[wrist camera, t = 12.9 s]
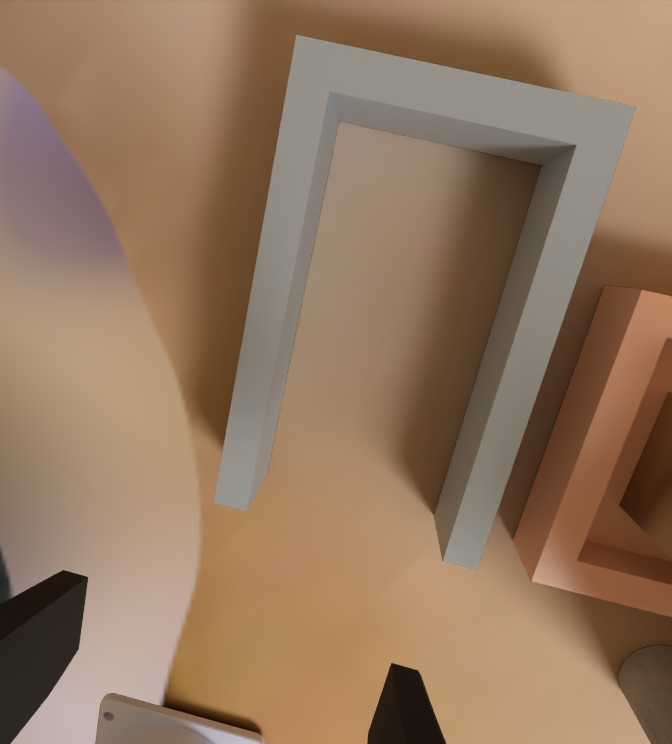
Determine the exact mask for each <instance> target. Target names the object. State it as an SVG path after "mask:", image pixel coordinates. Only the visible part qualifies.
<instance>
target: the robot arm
mask: <svg viewBox="0 0 672 744" xmlns="http://www.w3.org/2000/svg"><path fill="white" fill-rule="evenodd" d="M87 582H88V577H86V576H82V575H79V574H75V573H72V572H68V571H64V570H63V571H61V572H59V573H57V574H55V575H53V576H51V577H50V578H48V579H46V580H44V581H42V582H40V583H38V584H37V585H35V586H33V587H31V588H29V589H27V590H26V591H24V592H22V593H20V594H18V595H17V596H15V597H13V598H11V599H9V600H7V601H6V602H4V603H2V604H0V744H10V743H11V742H12V741H13V740H14V738H15V737H16V736H17V735H18V733H19V732H20V731H21V730H22V728H23V727H24V726H25V725H26V723H27V722H28V721H29V720H30V718H31V717H32V716H33V714H34V713H35V712H36V711H37V709H38V708H39V707H40V706H41V704H42V703H43V702H44V701H45V699H46V698H47V697H48V695H49V694H50V692H51V691H52V689H53V688H54V686H55V685H56V683H57V682H58V680H59V679H60V677H61V676H62V674H63V673H64V671H65V670H66V668H67V666H68V665H69V663H70V662H71V660H72V658H73V657H74V655H75V654H76V652H77V651H78V649H79V642H80V634H81V627H82V620H83V612H84V605H85V597H86V589H87ZM95 744H265V740H264V738H263V737H262V736H261V735H260V734H258V733H256V732H252V731H248V730H245V729H241V728H238V727H234V726H230V725H227V724H223V723H220V722H216V721H212V720H209V719H205V718H202V717H198V716H194V715H191V714H187V713H184V712H180V711H176V710H173V709H169V708H165V707H162V706H158V705H155V704H151V703H147V702H144V701H140V700H137V699H132V698H129V697H126V696H122V695H118V694H114V693H110V694H107V695H106V696H105V697H104V698H103V700H102V702H101V704H100V711H99V718H98V726H97V734H96V743H95ZM367 744H446V742H445V739H444V737H443V734H442V732H441V729H440V727H439V724H438V721H437V719H436V716H435V714H434V711H433V708H432V705H431V703H430V700H429V697H428V694H427V692H426V689H425V686H424V683H423V680H422V677H421V675H420V673H419V671H418V670H414V669H411V668H407V667H404V666H400V665H397V664H393V663H391V666H390V669H389V672H388V675H387V678H386V681H385V684H384V687H383V690H382V693H381V696H380V699H379V702H378V705H377V708H376V711H375V714H374V717H373V720H372V723H371V726H370V729H369V732H368V743H367Z"/></svg>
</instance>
